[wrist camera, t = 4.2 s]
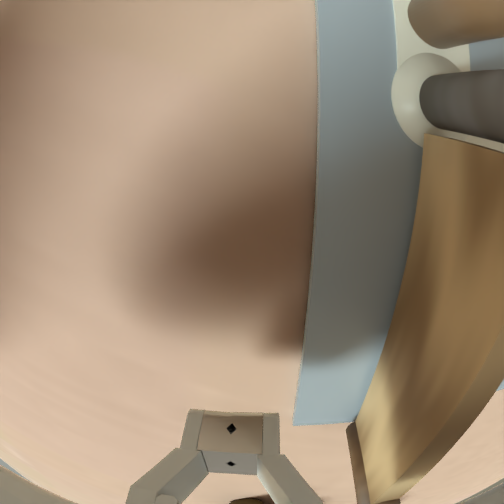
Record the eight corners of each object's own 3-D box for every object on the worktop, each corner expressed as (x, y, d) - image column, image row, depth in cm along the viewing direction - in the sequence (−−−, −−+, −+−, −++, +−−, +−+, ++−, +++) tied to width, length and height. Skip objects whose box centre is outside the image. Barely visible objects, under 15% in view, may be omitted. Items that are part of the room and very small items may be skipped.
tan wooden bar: (415, 68, 6) (552, 53, 2) (466, 82, 6) (599, 92, 2) (342, 437, 13) (354, 521, 8) (375, 433, 13) (392, 513, 8)
